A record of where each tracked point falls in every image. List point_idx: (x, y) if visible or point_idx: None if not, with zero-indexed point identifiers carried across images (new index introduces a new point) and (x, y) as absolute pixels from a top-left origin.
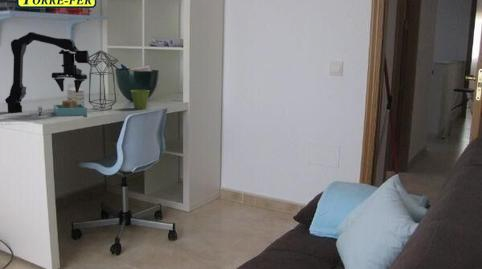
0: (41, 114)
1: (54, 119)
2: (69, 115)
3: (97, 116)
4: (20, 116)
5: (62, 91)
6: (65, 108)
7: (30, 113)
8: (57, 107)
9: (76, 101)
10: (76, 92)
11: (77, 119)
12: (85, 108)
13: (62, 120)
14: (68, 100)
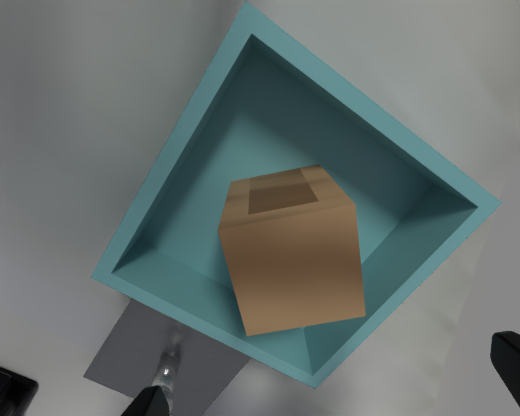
0: (179, 362)
1: None
2: None
3: (502, 89)
4: (101, 411)
5: (168, 405)
6: (357, 344)
7: (90, 374)
8: (270, 355)
9: (353, 212)
10: (500, 361)
11: (449, 290)
12: (485, 210)
13: (394, 362)
14: (260, 265)
